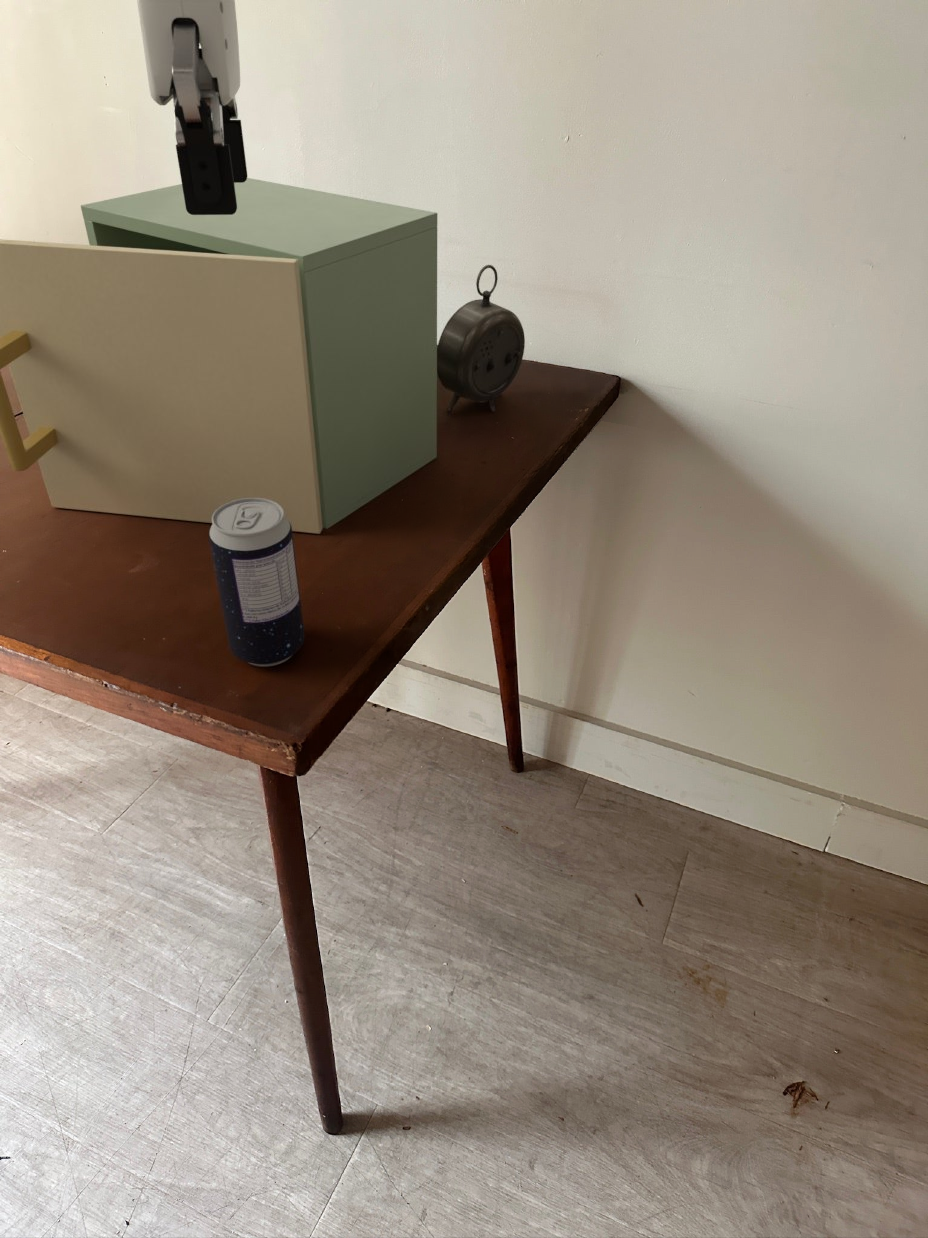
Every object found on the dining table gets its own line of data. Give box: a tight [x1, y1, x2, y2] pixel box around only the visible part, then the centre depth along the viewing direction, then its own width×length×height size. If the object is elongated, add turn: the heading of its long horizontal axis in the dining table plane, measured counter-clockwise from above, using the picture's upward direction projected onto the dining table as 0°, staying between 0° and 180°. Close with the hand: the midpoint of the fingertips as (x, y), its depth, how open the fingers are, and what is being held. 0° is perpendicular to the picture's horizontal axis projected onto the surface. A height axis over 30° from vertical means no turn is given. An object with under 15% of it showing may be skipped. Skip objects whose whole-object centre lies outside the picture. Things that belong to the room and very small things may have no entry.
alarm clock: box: [437, 264, 526, 414], centre depth 99 cm, size 11×5×16 cm, turn 134°
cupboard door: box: [0, 239, 324, 535], centre depth 72 cm, size 7×26×24 cm, turn 82°
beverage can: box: [208, 498, 305, 668], centre depth 63 cm, size 6×6×12 cm
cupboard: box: [80, 177, 438, 530], centre depth 85 cm, size 18×26×24 cm
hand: (219, 196), depth 60 cm, fingers open, 9 cm apart
